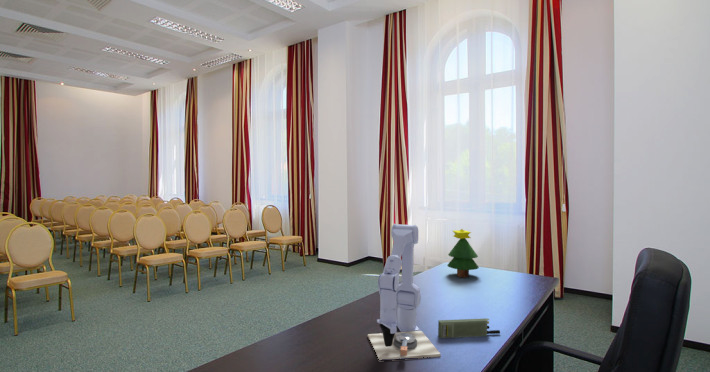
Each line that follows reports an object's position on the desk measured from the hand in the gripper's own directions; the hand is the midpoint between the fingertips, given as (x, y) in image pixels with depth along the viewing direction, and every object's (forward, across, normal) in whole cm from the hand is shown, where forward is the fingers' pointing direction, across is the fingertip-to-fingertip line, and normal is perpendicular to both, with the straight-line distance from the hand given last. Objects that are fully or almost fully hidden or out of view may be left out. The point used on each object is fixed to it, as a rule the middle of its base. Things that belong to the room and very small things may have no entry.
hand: (388, 345), depth 134 cm
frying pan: (0, 0, +6) cm, 6 cm away
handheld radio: (+3, -10, +36) cm, 37 cm away
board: (+3, -5, +7) cm, 9 cm away
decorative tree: (+3, -95, +73) cm, 120 cm away
